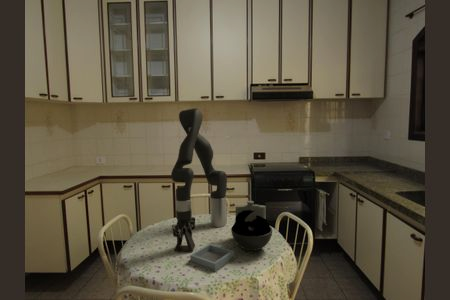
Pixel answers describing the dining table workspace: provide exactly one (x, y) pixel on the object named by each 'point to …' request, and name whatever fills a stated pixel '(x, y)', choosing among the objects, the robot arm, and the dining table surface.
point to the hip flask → (258, 210)
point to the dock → (212, 257)
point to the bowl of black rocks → (251, 231)
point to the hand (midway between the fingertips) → (184, 241)
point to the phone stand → (189, 240)
